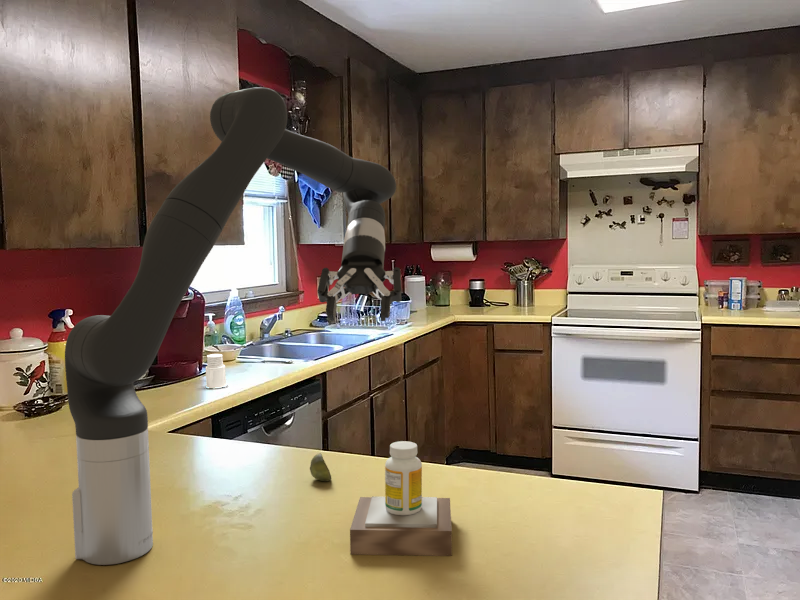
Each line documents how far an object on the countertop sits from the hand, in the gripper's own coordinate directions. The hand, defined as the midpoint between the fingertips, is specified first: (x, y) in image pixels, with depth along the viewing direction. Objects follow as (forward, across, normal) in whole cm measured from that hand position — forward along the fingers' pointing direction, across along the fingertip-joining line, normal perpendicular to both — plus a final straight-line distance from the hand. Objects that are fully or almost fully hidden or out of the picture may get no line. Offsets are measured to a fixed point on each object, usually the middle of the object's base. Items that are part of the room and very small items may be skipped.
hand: (357, 318), depth 110 cm
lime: (+16, -8, +28) cm, 33 cm away
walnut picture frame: (+32, +8, +11) cm, 35 cm away
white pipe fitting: (-41, -55, +85) cm, 109 cm away
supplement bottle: (+29, +8, +9) cm, 32 cm away
